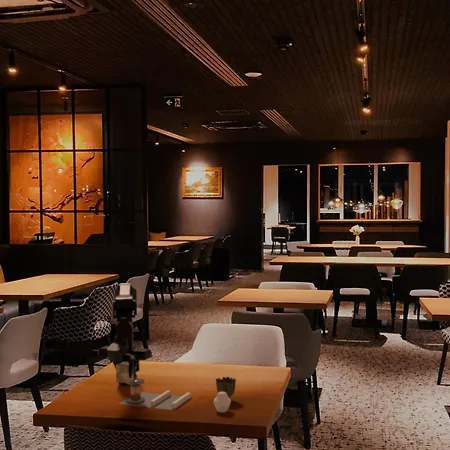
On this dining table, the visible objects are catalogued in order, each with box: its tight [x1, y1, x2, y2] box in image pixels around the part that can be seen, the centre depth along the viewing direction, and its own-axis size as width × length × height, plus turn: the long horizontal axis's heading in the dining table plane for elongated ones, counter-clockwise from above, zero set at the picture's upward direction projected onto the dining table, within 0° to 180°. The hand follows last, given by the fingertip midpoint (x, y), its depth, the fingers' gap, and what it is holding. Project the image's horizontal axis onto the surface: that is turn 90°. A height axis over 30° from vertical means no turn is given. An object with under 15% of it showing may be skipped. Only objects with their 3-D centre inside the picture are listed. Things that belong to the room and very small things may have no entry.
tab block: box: [115, 362, 134, 383], centre depth 225 cm, size 4×5×6 cm
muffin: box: [212, 392, 232, 413], centre depth 226 cm, size 6×6×7 cm
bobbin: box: [126, 377, 145, 404], centre depth 234 cm, size 6×6×8 cm
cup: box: [215, 376, 237, 401], centre depth 238 cm, size 8×7×8 cm
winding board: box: [118, 390, 192, 411], centre depth 235 cm, size 22×16×3 cm
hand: (125, 377), depth 225 cm, fingers closed on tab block, 4 cm apart
